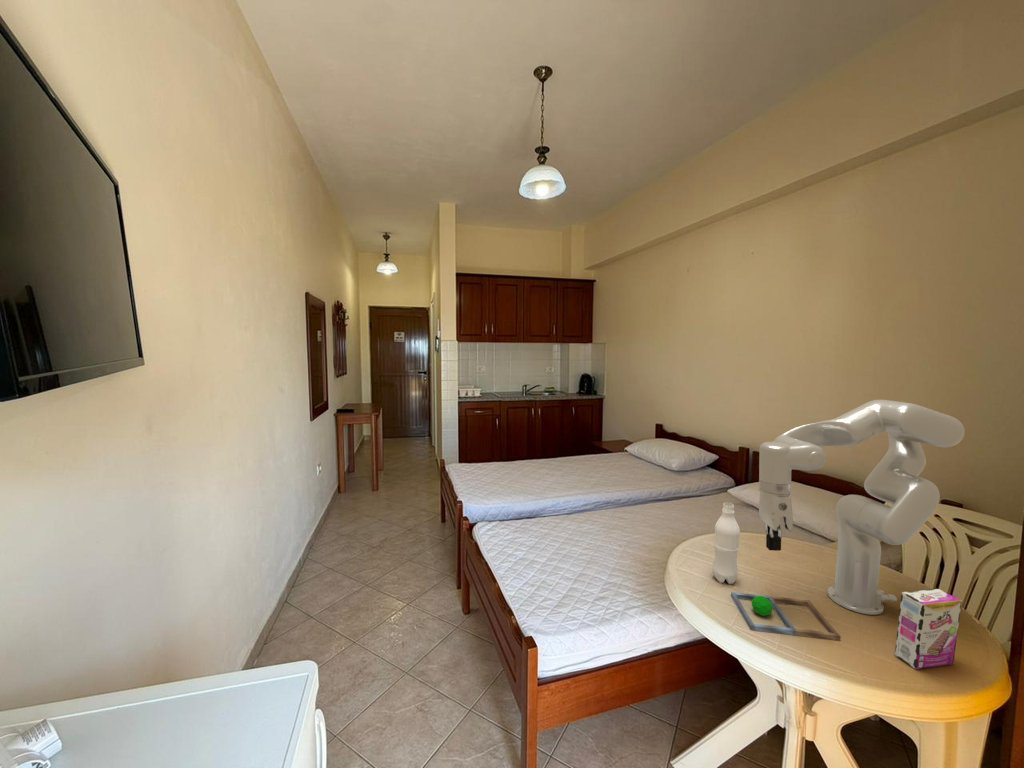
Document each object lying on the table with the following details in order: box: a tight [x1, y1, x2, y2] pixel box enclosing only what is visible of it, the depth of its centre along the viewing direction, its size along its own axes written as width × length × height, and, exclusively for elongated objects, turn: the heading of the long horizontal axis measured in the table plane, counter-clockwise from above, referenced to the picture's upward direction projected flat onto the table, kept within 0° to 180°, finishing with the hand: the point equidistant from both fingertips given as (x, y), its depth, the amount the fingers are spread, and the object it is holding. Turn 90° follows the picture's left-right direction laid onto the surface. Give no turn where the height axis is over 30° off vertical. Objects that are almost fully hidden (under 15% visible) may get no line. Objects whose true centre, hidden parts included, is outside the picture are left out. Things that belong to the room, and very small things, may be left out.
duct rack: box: [730, 591, 842, 642], centre depth 112 cm, size 21×15×1 cm
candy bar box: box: [894, 588, 963, 670], centre depth 96 cm, size 11×5×16 cm, turn 99°
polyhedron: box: [751, 595, 773, 616], centre depth 113 cm, size 5×5×5 cm
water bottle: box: [712, 502, 741, 585], centre depth 129 cm, size 7×7×25 cm
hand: (773, 549), depth 115 cm, fingers closed
